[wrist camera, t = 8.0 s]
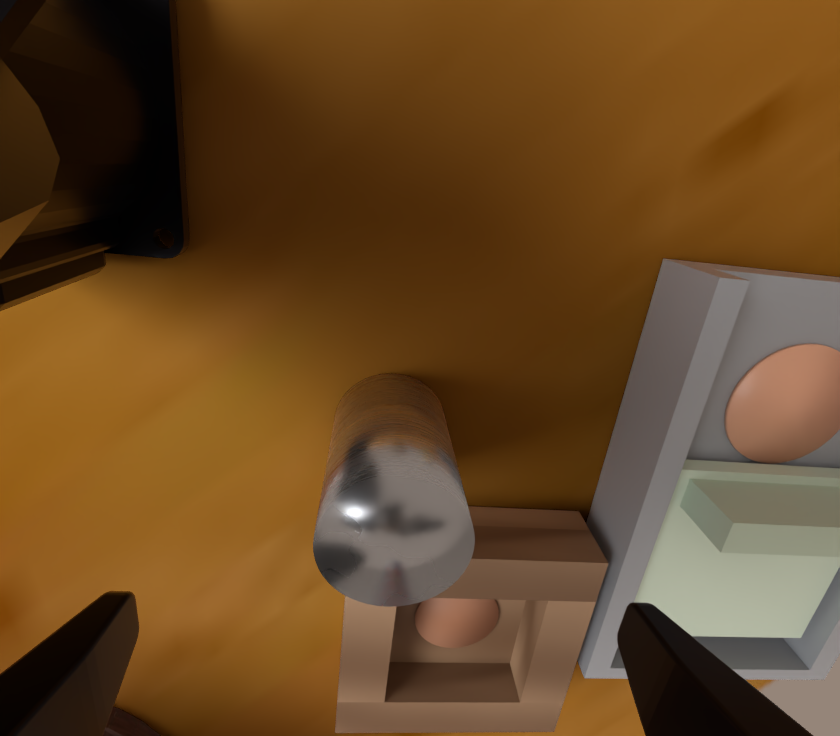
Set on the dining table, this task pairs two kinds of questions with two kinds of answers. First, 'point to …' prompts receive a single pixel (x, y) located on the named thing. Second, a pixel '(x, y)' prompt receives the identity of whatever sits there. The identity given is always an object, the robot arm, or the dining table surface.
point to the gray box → (718, 435)
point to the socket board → (478, 635)
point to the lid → (745, 549)
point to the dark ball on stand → (126, 725)
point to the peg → (392, 497)
